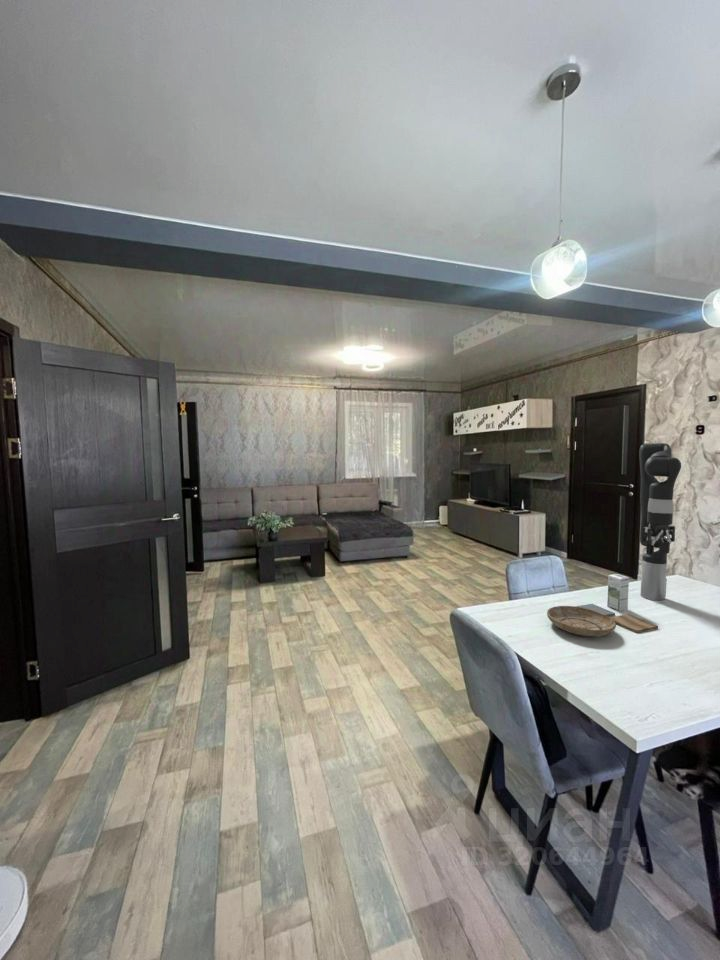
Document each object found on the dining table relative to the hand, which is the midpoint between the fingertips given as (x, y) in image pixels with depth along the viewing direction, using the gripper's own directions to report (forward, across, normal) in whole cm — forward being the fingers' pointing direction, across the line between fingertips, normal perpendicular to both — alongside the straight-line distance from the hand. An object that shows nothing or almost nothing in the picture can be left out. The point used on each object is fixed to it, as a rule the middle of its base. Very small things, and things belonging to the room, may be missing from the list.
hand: (657, 553), depth 147 cm
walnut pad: (+31, 0, -8) cm, 32 cm away
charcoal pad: (+31, +4, -22) cm, 38 cm away
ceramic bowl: (+31, +23, -13) cm, 41 cm away
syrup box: (+31, -10, -22) cm, 39 cm away
